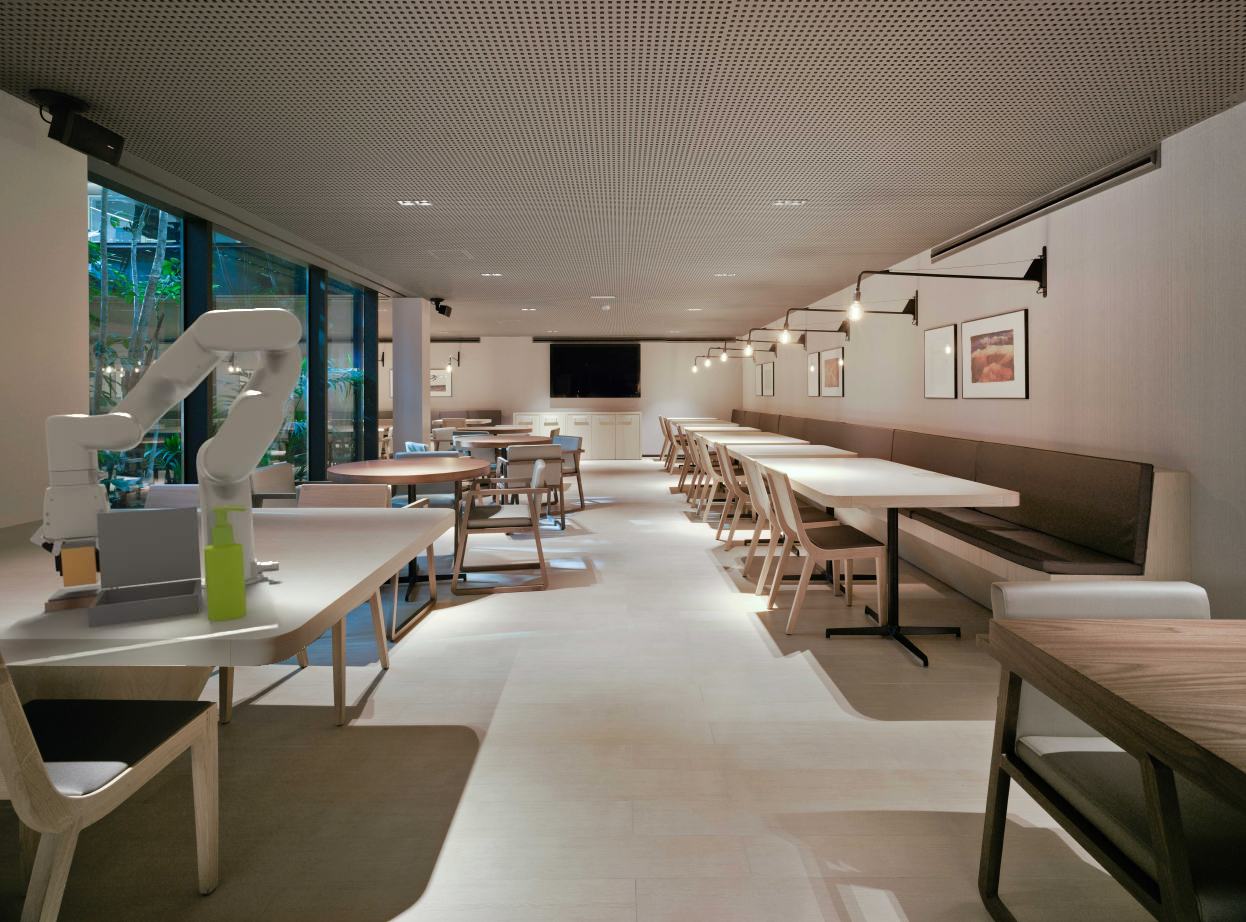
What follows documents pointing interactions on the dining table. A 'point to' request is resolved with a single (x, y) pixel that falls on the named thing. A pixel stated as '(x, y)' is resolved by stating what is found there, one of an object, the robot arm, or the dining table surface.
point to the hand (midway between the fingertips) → (82, 571)
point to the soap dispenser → (224, 570)
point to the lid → (148, 546)
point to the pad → (73, 598)
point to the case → (145, 603)
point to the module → (79, 562)
